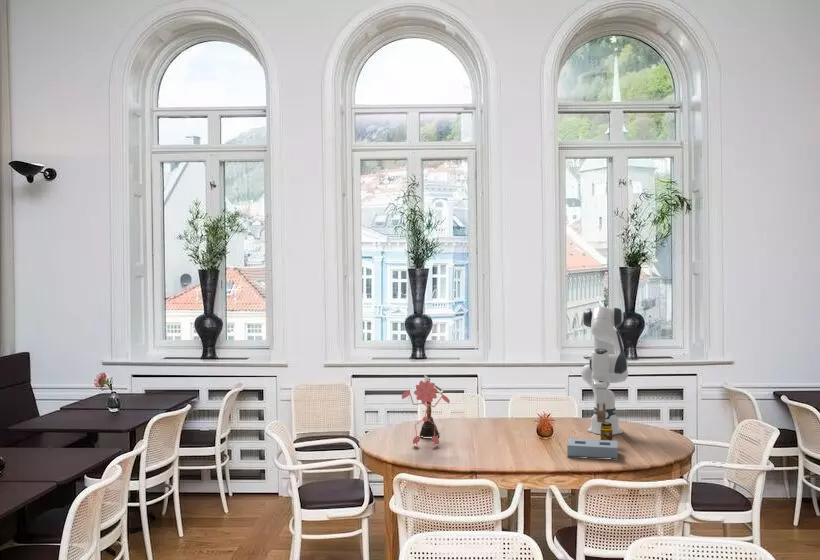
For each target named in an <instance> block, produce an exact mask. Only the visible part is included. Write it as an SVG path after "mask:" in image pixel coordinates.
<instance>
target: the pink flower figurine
mask: <svg viewBox="0 0 820 560" xmlns="http://www.w3.org/2000/svg"><path fill="white" fill-rule="evenodd" d="M430 382H431V380H430V381H429V380H427V381H426V382H425V383H424V380H420V381H419V383H418V384H416V385H415V389H416V390H414V391H413V394H414V395H415V396H416V400H417V401H421V402H420V403H414V400H413V397H412V395H411V391H410V389H409V390H406V391H404V392H403V393H402V395H401V399H402V400H403V399H406V398H408V396H409V397H410V399H411V402H412V405H413V406H417V405H424V406H425V407H426V408H425V415H424V416H423V417H422V419H421V420H420V421H418V422H417V423H416V424H414V427H415V435H416V436H414V438H413V439H412V443H413V444H414V443H416V445H417V446H418V444H419V442H420V441H421V438H420V437H419V435H418V431H417V425H418V424H419V423H421V422H424V421H425V422H426V421H427V420H428V418H427V417H426V416H427V409H428V406H427V405H429V404H427V401H428V402H429V403H431V405H429V406H431V408H435V407H436V406H437V404H438V403H439V402H440V400H441V399H442V400H443V401H445V402H446V403H447V404H450V403H451V401H450V399H449V398H448V397H447V396H446V395H444V394H443V395H441V397H440V398H439V399H438V401H437V402H436V403H435V404H434V405H432V403H433V401H432V399H435V400H436V399H437V394H436V393H438V392H437V391H438V390H437V389H436V388H434V386H435V385H436V383H435V382H431V383H430ZM428 421H429V420H428ZM430 422H431V421H430ZM431 423H433V422H431ZM434 423H435V422H434ZM434 423H433V424H434ZM435 426H436V427H437V425H435ZM431 442H432V443H433V444H432V445H433V446H434V447H435V445H437V444H440V439H439V438H437V437H435V431H434V437H432V439H431ZM416 445H415V446H416Z"/></svg>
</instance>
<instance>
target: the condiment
mask: <svg viewBox="0 0 820 560" xmlns="http://www.w3.org/2000/svg"><path fill="white" fill-rule="evenodd" d="M611 425H612V424H611V423H609V422H603V423H601V434H600V440H610V441H614V440H613V435H612V426H611Z"/></svg>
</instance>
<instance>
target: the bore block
mask: <svg viewBox="0 0 820 560" xmlns="http://www.w3.org/2000/svg"><path fill="white" fill-rule="evenodd" d="M618 447H619V445H618V440H613V441H610V440H601V439H587V438H585V439H584V438H568V440H567V456H566V457H567V458H570V457H587V458H586V459H588V458H611V459H618V460H619V458H618V457H619V456H618V455H619V453H618V452H619V450H618V449H619V448H618Z"/></svg>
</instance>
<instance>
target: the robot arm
mask: <svg viewBox="0 0 820 560" xmlns="http://www.w3.org/2000/svg"><path fill="white" fill-rule="evenodd" d="M581 319H582V323H583V325H584V326H585V327H587V328H590V329H591V334H592V335H593V350H592V354H591V356H590V357H589V359H588V360H589V361H588V362H589V363H588V364H585V365H584V366H583V367H582V368H581V373H580V374H581V378H582V380H583V381H584V382H585V383H586V384H587V385H589V387H591V389H592V392H593V398H594V407H593V415H592V416H591V418H590V423H591V424H590V427H589V428H588V429H587V432H589V433H593V434H596V435H601V423H603V422H597V403H598V404H599V410H600V411H603V404H605V422H609V423H611V424H612V425H611V426H612V436H614V435H618V434H623V430H622V429H621V428H620V427H619V426H620V425H619V421H620V420H619V417H618V416H617V415H616V414H617V408H616V395H615V393H614V392H613V391H612V390H611V389H608V388H609V386H610V385H611V384H617V383H623V382H625V381H626V380H627V379H628V377H629V371H628V359H627V357H626V354H625V350H624V346H623V342H622V337H621V335H620V332H619V331H618V330H616V329H617V328H618V327H620V326H621V325H623V321H624V313H623V312H622V310H621V308H620V307H619V308H618V307H606V306H598V307H596V308H595V307H594V308H590V307H589V308H586V309H585V310H583V313H582V316H581Z"/></svg>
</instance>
